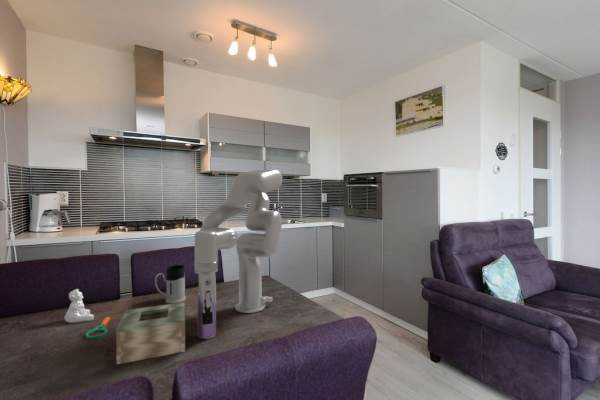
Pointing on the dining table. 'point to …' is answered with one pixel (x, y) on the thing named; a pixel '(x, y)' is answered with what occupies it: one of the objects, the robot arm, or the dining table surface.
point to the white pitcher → (174, 284)
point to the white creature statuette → (77, 309)
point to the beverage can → (208, 329)
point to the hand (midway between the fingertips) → (206, 319)
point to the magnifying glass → (99, 329)
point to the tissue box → (151, 332)
